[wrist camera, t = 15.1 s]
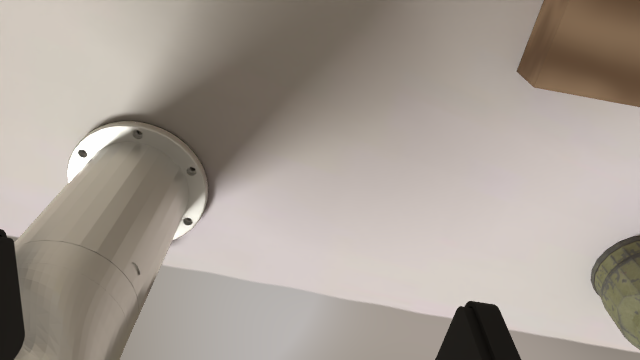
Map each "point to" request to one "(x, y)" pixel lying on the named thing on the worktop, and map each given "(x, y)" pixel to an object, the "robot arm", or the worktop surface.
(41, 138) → the worktop surface
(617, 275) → the thermos
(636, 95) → the walnut stand
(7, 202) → the worktop surface
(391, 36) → the worktop surface
